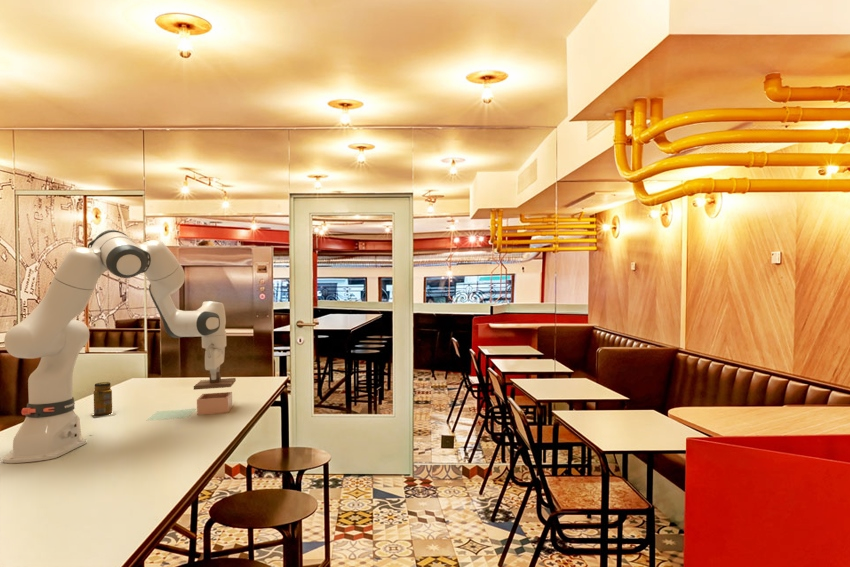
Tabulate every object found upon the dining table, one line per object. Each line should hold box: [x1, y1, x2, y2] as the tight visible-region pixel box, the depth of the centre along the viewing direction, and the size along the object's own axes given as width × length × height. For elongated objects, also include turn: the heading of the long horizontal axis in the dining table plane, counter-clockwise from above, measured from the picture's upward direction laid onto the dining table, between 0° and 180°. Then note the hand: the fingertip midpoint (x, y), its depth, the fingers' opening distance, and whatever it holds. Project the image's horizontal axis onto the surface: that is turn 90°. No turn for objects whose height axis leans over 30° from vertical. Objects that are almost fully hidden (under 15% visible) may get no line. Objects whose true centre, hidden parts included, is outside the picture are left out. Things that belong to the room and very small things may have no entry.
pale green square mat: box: [146, 408, 196, 422], centre depth 199 cm, size 14×14×1 cm
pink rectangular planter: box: [196, 391, 233, 416], centre depth 204 cm, size 11×11×6 cm
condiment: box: [90, 381, 116, 418], centre depth 203 cm, size 7×8×12 cm
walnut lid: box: [193, 371, 236, 390], centre depth 204 cm, size 13×13×5 cm
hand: (215, 378), depth 204 cm, fingers closed on walnut lid, 3 cm apart
